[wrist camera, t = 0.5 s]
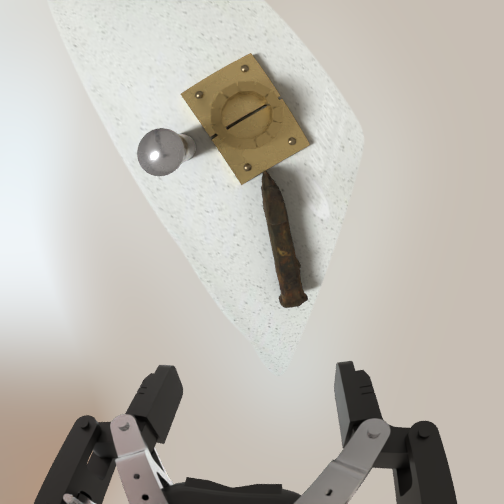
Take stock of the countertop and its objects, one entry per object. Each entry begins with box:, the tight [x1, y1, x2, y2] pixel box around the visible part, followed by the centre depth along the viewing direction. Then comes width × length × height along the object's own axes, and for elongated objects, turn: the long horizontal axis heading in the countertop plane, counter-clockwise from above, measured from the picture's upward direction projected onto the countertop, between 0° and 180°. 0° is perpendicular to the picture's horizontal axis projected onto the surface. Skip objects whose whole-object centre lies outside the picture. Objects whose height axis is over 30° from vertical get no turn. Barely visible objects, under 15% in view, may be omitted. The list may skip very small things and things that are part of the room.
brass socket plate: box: [181, 53, 310, 185], centre depth 29 cm, size 14×10×4 cm
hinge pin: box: [137, 128, 196, 176], centre depth 27 cm, size 4×4×11 cm
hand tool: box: [261, 170, 308, 308], centre depth 36 cm, size 19×4×5 cm, turn 11°
